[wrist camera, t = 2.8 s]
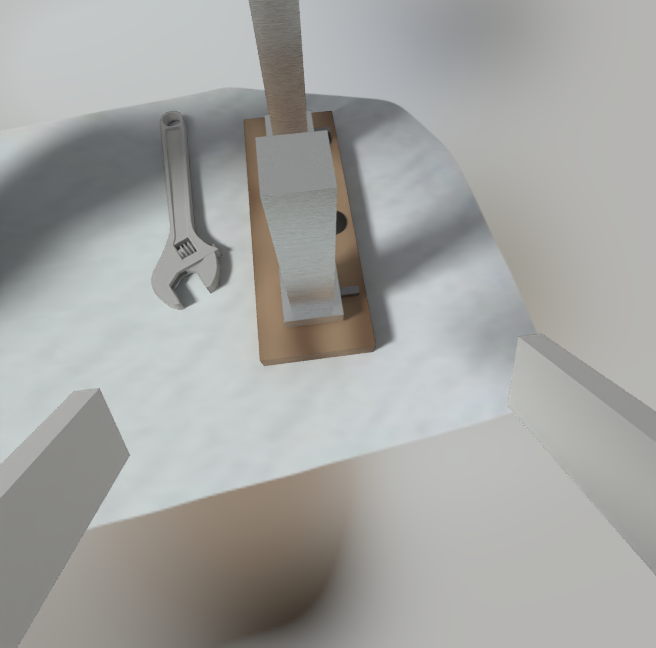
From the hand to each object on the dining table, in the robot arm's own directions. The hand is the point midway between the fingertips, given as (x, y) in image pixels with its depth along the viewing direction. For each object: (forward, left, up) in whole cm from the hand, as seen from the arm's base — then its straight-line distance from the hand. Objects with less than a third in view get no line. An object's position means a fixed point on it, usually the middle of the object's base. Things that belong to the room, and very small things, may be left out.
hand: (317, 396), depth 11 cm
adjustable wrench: (-12, +25, -20) cm, 34 cm away
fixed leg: (+1, +30, -17) cm, 35 cm away
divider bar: (0, +20, -19) cm, 28 cm away
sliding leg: (+1, +11, -17) cm, 20 cm away
